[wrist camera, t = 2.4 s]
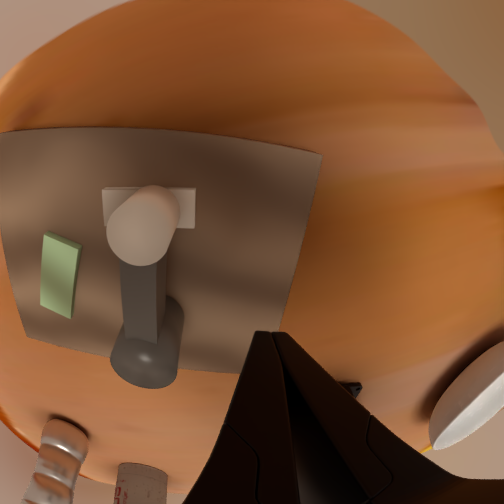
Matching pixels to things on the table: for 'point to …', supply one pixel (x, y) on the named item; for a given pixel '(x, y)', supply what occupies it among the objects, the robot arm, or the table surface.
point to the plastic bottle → (57, 464)
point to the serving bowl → (469, 399)
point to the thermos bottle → (140, 485)
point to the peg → (146, 288)
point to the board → (182, 243)
